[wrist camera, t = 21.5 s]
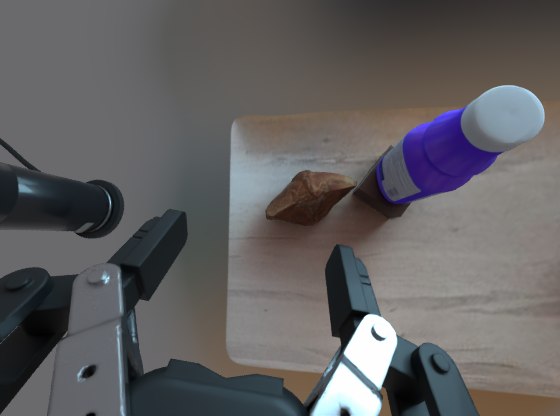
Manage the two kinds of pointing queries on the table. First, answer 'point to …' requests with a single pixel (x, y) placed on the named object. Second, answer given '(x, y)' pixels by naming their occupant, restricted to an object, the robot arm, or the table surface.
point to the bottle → (459, 144)
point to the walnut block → (378, 193)
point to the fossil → (309, 197)
